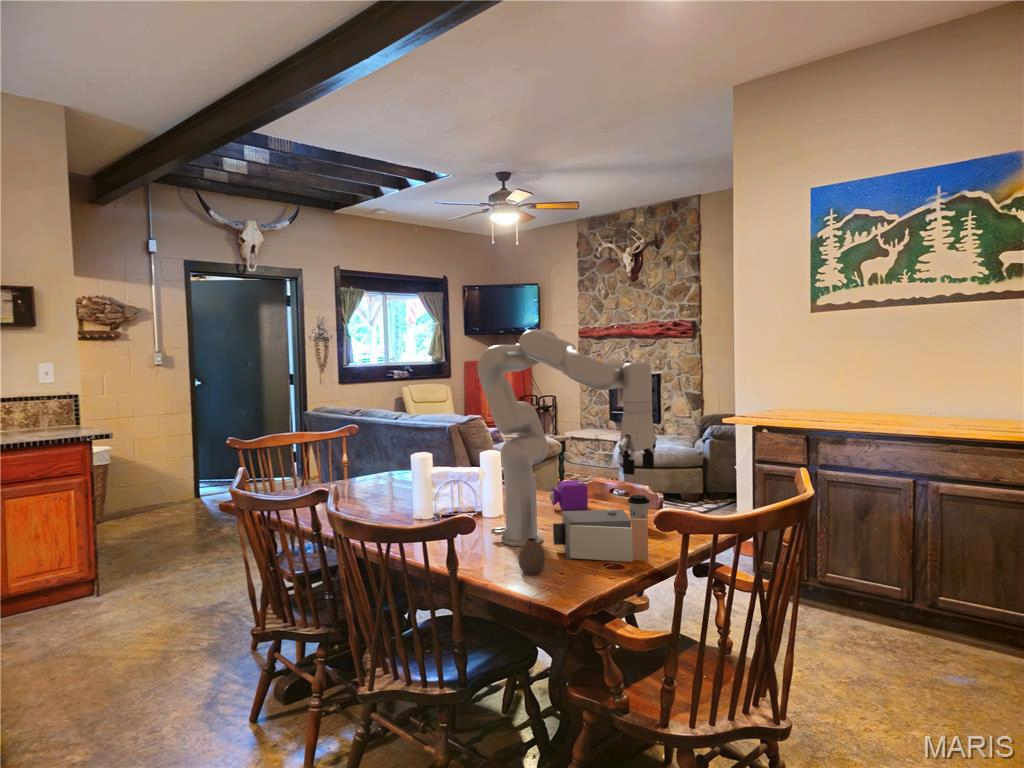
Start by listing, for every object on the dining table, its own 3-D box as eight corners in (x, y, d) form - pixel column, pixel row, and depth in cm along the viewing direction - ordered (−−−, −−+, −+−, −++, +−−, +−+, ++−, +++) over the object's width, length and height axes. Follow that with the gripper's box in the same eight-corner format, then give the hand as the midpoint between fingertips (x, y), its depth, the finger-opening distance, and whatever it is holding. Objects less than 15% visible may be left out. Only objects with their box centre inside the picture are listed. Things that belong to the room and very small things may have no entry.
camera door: (566, 559, 167) (565, 516, 166) (566, 558, 168) (565, 515, 168) (648, 564, 162) (647, 520, 161) (648, 563, 163) (647, 518, 162)
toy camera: (546, 507, 224) (545, 480, 224) (580, 503, 229) (579, 477, 228) (556, 514, 214) (556, 486, 214) (592, 510, 218) (591, 482, 218)
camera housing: (555, 558, 168) (554, 519, 168) (552, 544, 180) (551, 508, 180) (631, 556, 168) (631, 517, 168) (623, 542, 180) (622, 506, 180)
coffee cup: (649, 524, 198) (649, 494, 198) (650, 530, 191) (650, 499, 191) (628, 524, 200) (627, 493, 199) (628, 530, 193) (627, 499, 192)
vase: (517, 568, 162) (516, 535, 161) (543, 567, 162) (542, 534, 162) (519, 578, 155) (518, 544, 154) (546, 576, 155) (545, 542, 155)
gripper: (643, 404, 172) (644, 464, 173) (607, 410, 160) (608, 474, 161) (666, 406, 167) (667, 467, 168) (631, 411, 155) (633, 478, 156)
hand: (638, 471), depth 164 cm, fingers open, 9 cm apart
